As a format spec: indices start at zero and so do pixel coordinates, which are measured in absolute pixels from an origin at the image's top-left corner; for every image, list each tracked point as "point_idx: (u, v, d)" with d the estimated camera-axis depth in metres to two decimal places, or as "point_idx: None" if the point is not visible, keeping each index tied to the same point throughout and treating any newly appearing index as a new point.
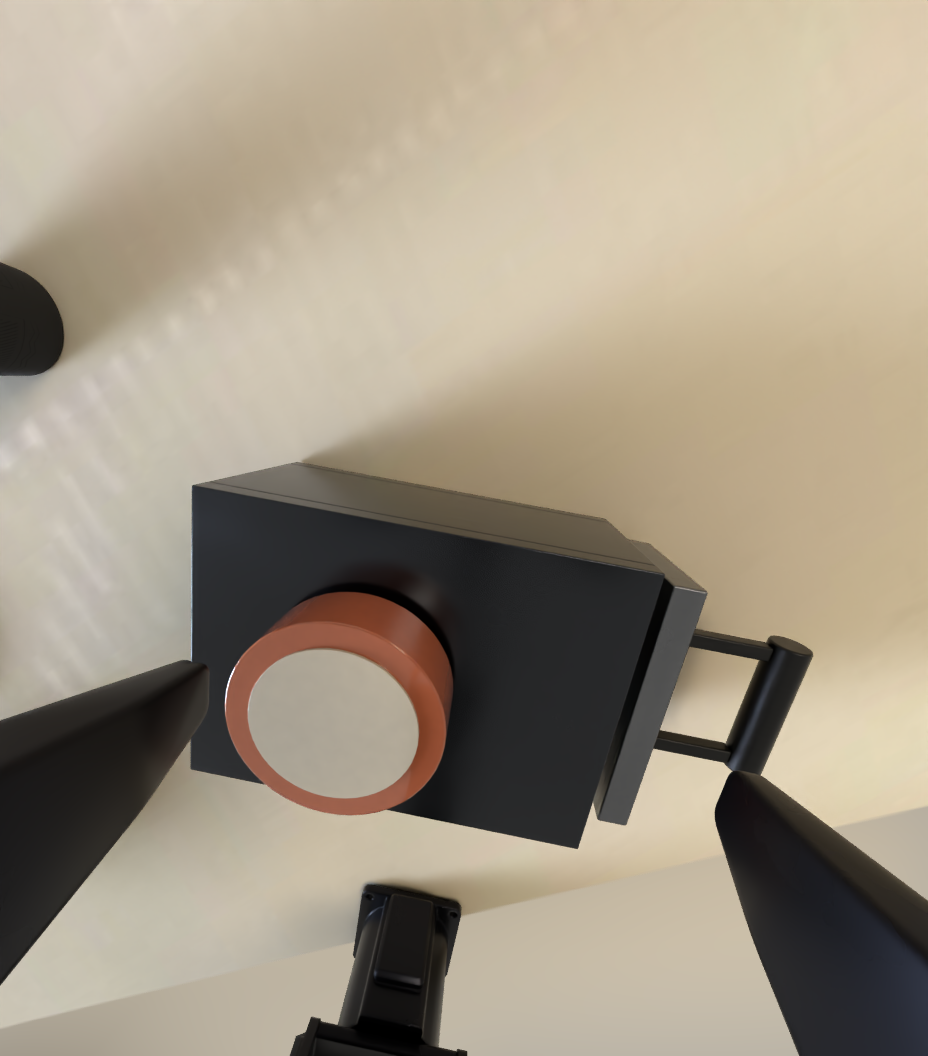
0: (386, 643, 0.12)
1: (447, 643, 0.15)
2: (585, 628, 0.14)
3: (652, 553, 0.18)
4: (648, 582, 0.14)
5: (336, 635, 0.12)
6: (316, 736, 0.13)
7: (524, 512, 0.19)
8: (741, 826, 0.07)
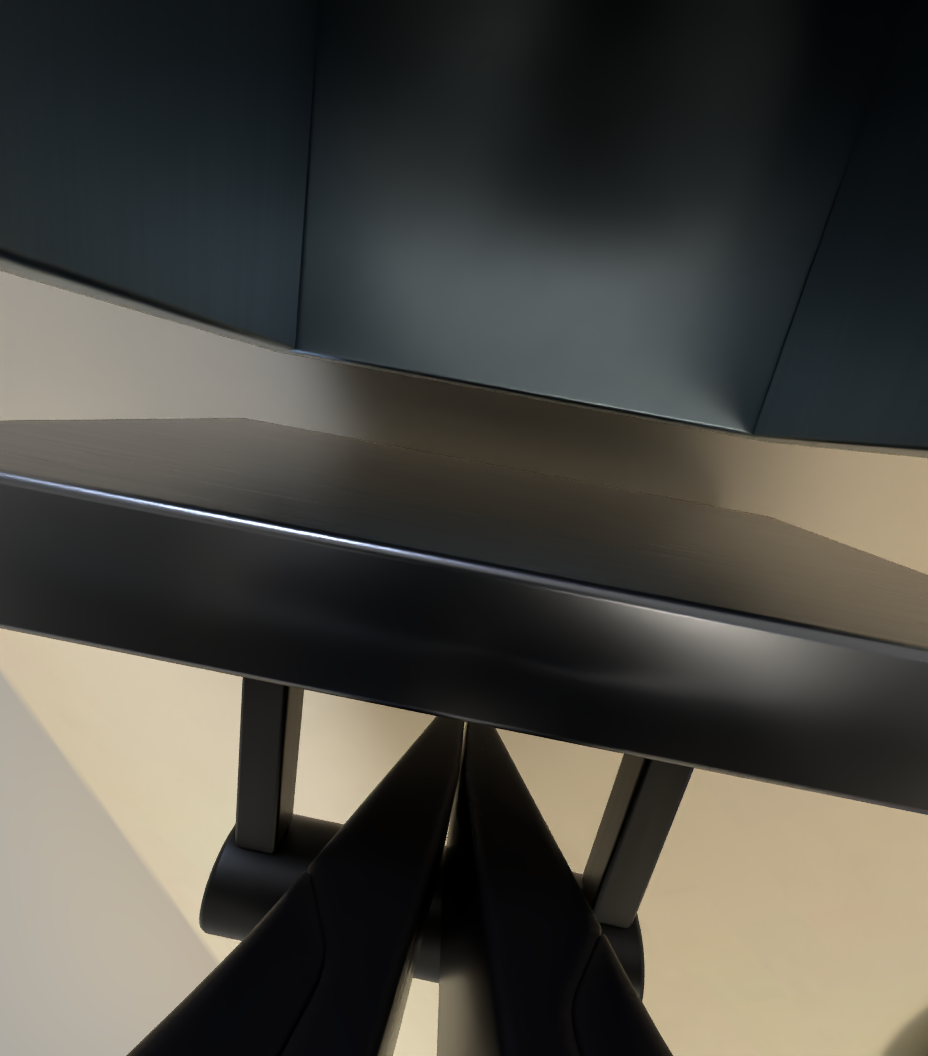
0: None
1: None
2: None
3: None
4: None
5: None
6: None
7: None
8: None
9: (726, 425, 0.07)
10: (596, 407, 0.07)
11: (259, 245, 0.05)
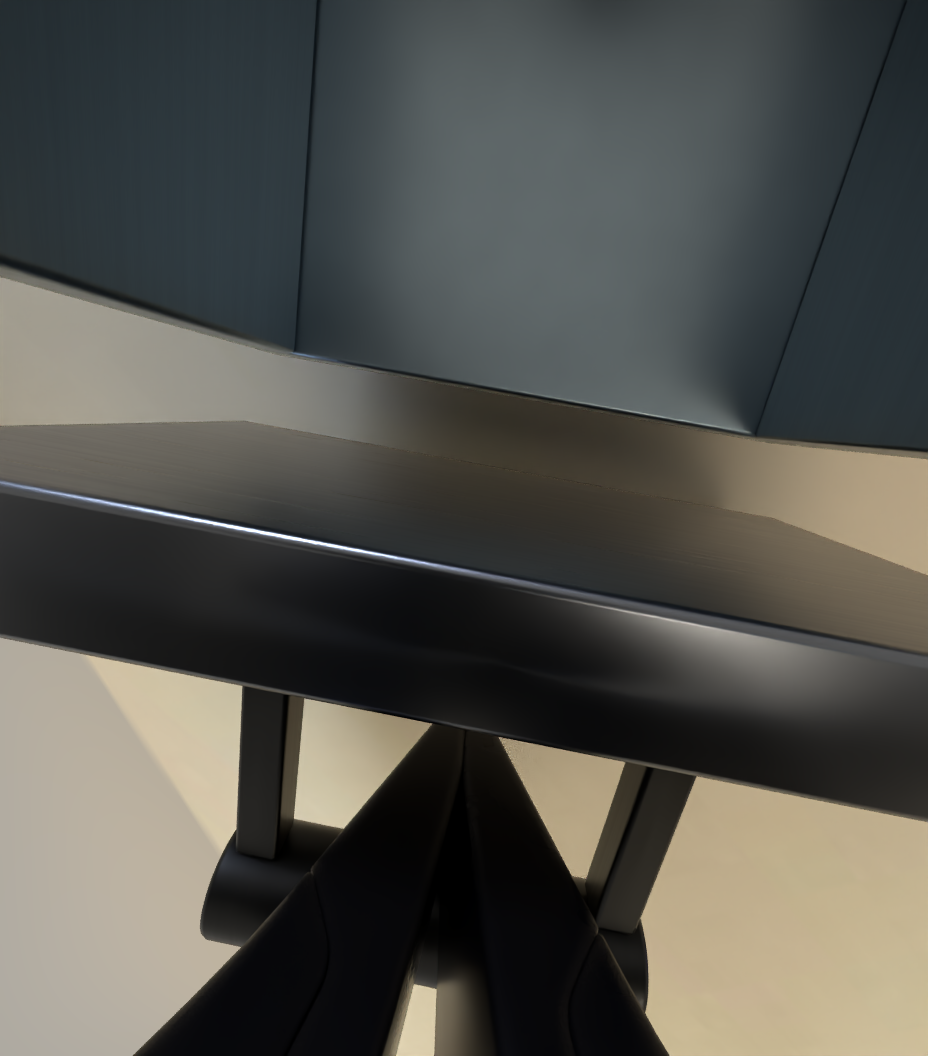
0: None
1: None
2: None
3: None
4: None
5: None
6: None
7: None
8: None
9: (728, 426, 0.07)
10: (597, 409, 0.07)
11: (258, 248, 0.05)
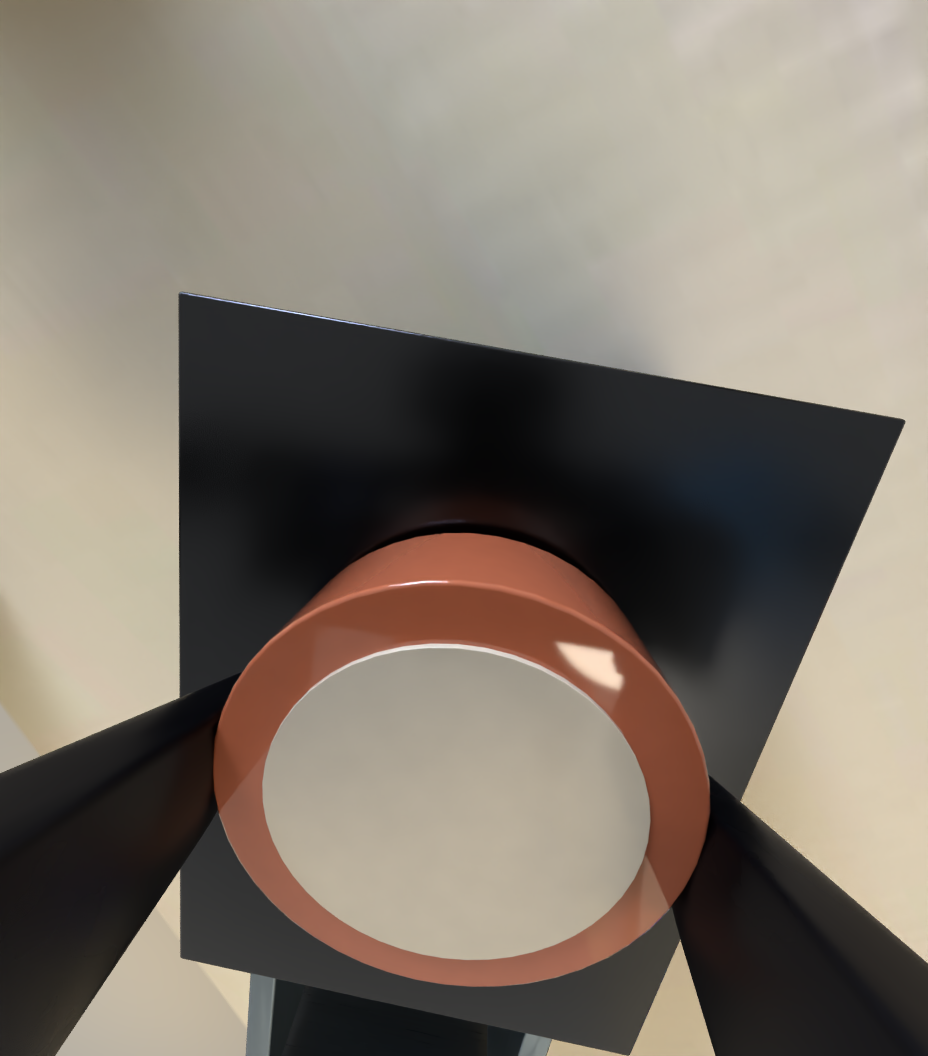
0: (649, 925, 0.06)
1: None
2: (553, 982, 0.10)
3: None
4: (619, 1042, 0.10)
5: (673, 848, 0.06)
6: (419, 780, 0.06)
7: None
8: None
9: None
10: None
11: None
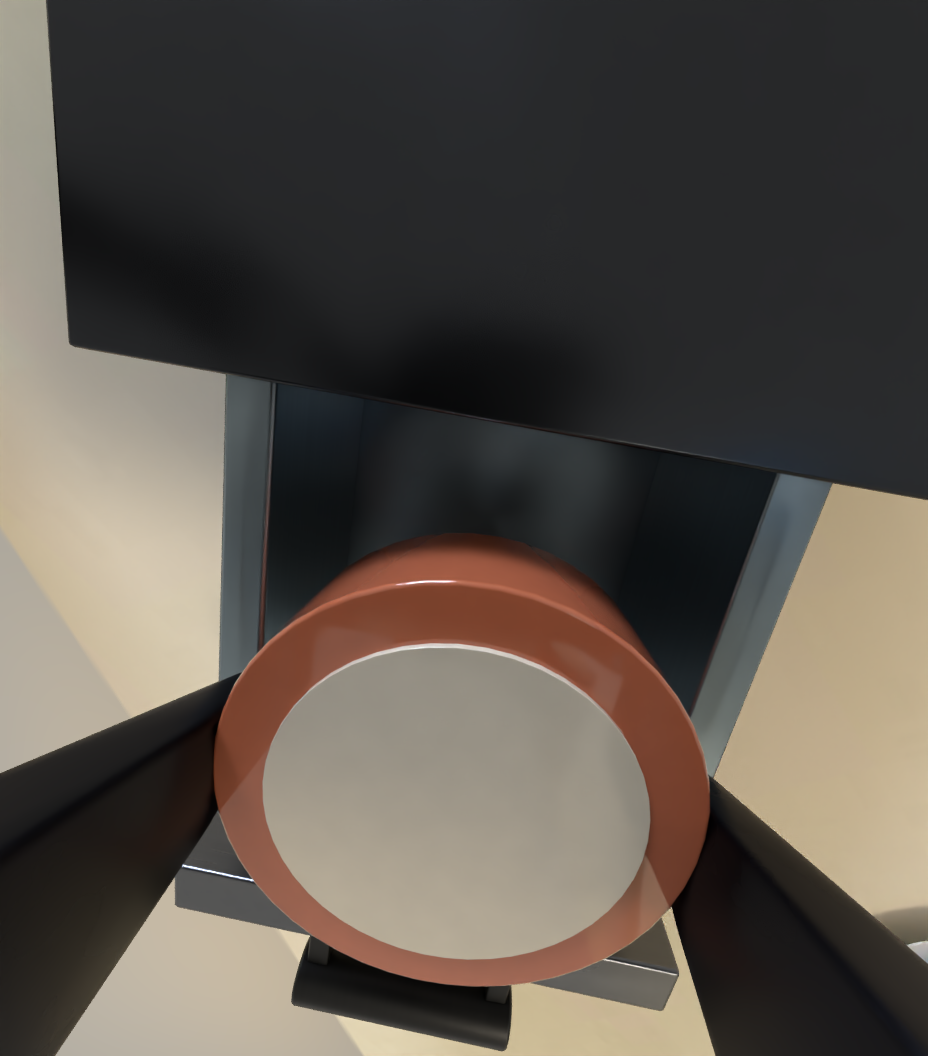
0: (649, 925, 0.06)
1: None
2: (886, 294, 0.05)
3: None
4: None
5: (672, 848, 0.06)
6: (419, 779, 0.06)
7: None
8: None
9: None
10: None
11: None
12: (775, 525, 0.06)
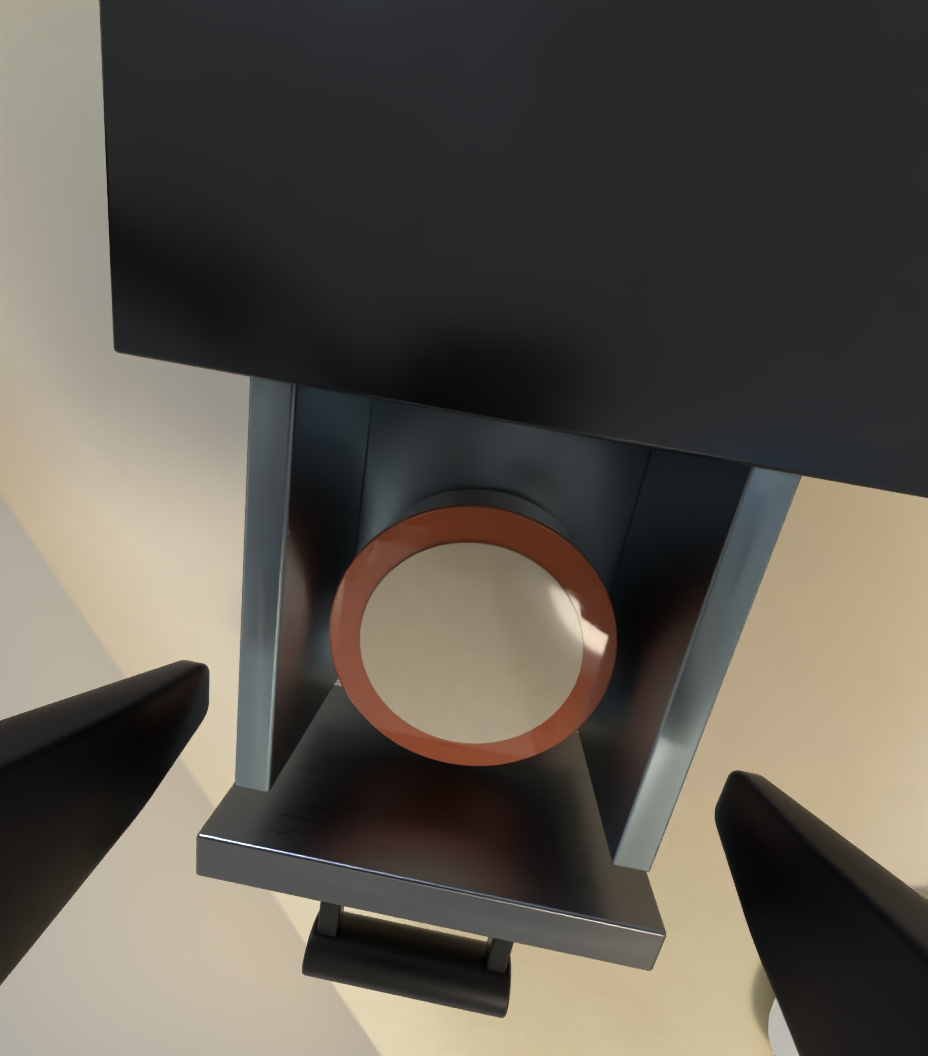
0: (586, 716, 0.10)
1: None
2: (840, 308, 0.05)
3: None
4: None
5: (597, 665, 0.10)
6: (451, 625, 0.10)
7: None
8: (741, 826, 0.07)
9: None
10: None
11: (330, 664, 0.12)
12: (749, 516, 0.07)
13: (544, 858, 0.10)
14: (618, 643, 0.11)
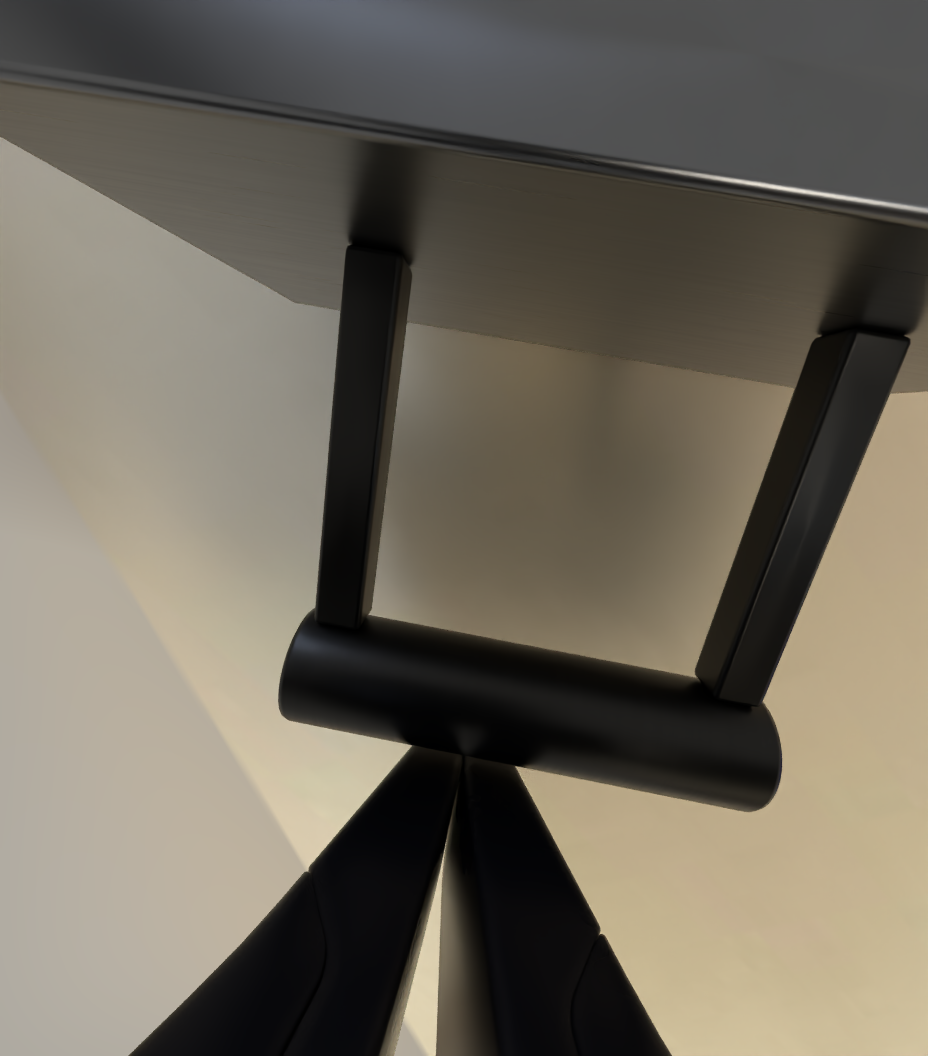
0: None
1: None
2: None
3: None
4: None
5: None
6: None
7: None
8: None
9: None
10: None
11: None
12: None
13: None
14: None
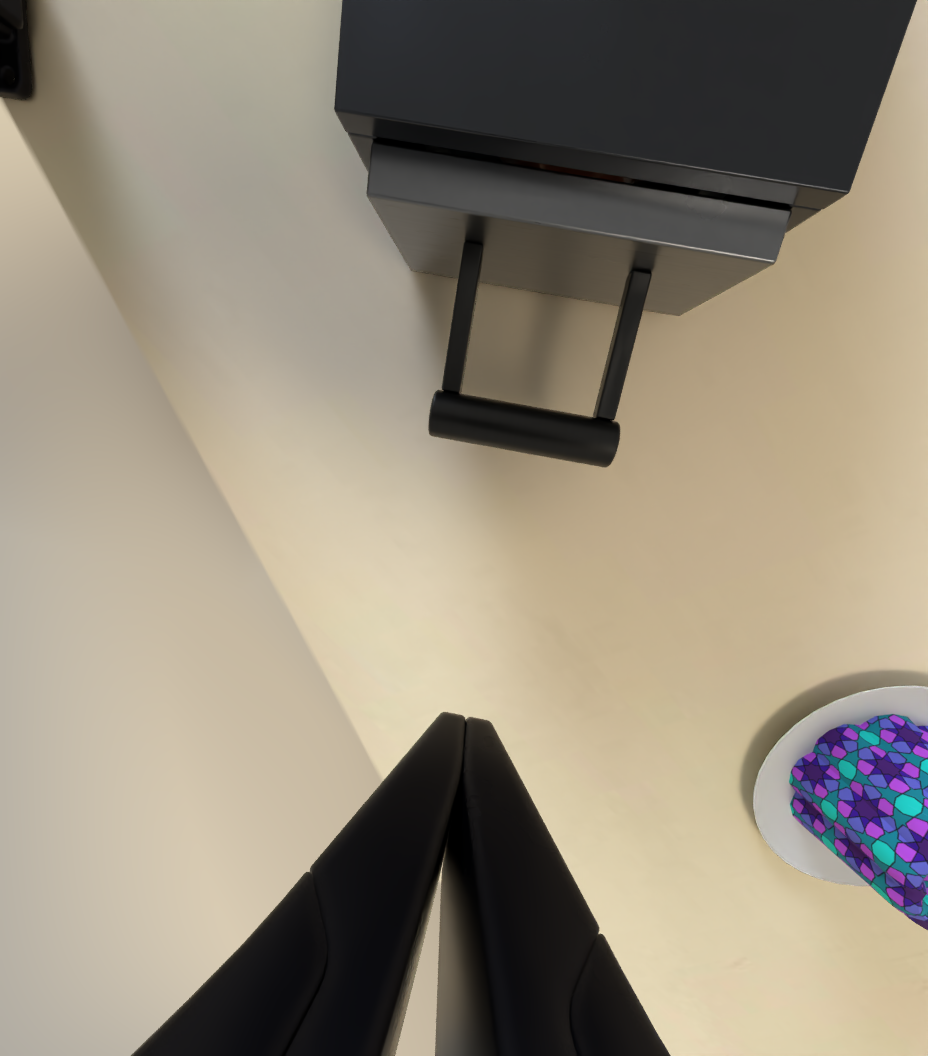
0: None
1: None
2: (773, 63, 0.09)
3: None
4: (841, 166, 0.09)
5: None
6: None
7: None
8: None
9: None
10: None
11: None
12: None
13: None
14: None
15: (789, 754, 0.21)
